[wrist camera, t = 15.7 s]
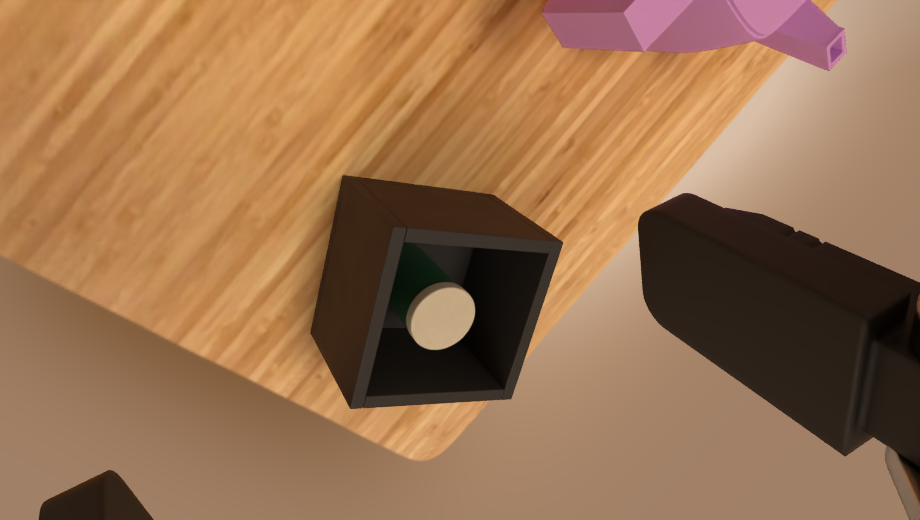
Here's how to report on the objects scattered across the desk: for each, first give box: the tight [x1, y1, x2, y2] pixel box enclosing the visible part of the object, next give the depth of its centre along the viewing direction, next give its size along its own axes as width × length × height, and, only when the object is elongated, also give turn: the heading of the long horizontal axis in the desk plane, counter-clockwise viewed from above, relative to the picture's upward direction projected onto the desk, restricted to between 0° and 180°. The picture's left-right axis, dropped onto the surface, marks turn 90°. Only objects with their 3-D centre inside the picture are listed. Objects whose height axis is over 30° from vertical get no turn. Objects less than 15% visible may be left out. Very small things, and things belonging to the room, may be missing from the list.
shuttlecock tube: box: [388, 243, 475, 350], centre depth 41 cm, size 4×4×7 cm
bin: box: [311, 175, 563, 409], centre depth 41 cm, size 11×11×9 cm
